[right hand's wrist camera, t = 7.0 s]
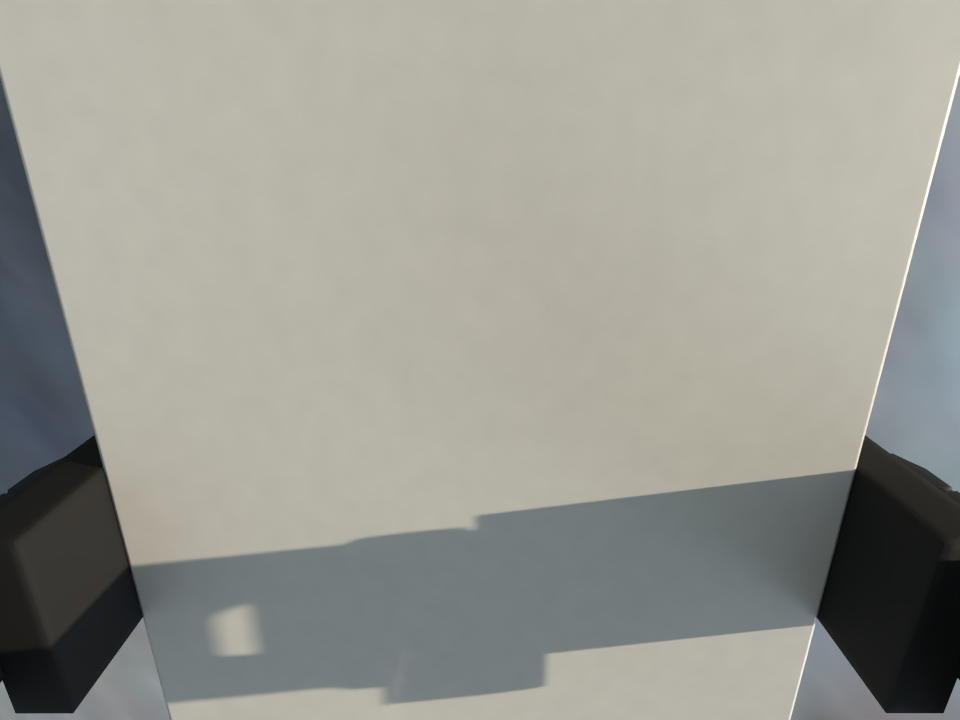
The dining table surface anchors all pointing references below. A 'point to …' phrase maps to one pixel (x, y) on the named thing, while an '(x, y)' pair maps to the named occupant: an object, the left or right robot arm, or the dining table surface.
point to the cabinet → (479, 332)
